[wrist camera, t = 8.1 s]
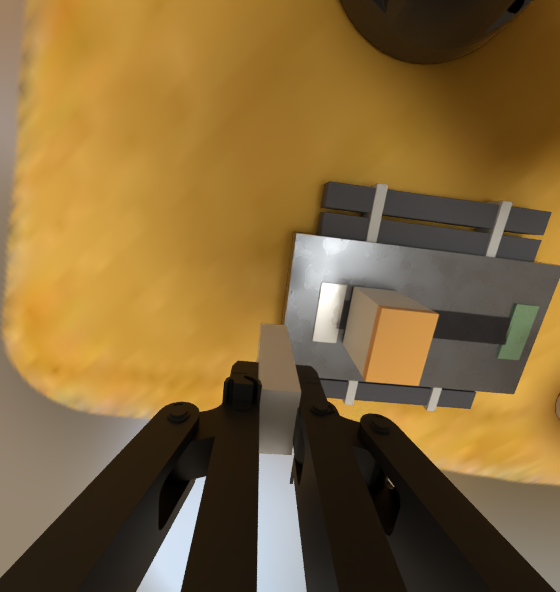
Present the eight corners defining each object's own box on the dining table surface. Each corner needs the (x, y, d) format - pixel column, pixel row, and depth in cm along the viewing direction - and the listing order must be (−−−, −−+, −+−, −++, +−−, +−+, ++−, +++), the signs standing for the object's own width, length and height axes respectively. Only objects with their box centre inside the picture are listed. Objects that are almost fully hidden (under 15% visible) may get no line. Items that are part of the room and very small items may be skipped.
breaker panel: (293, 231, 23) (296, 233, 21) (535, 261, 25) (566, 266, 22) (276, 360, 27) (277, 375, 24) (492, 379, 28) (515, 395, 26)
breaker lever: (354, 286, 22) (382, 308, 17) (397, 291, 22) (439, 314, 17) (342, 343, 23) (365, 381, 18) (384, 347, 24) (418, 386, 18)
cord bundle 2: (307, 364, 27) (310, 376, 25) (464, 378, 28) (478, 390, 26) (303, 388, 27) (306, 401, 26) (456, 400, 29) (470, 413, 27)
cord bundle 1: (325, 180, 22) (330, 176, 20) (532, 208, 24) (555, 208, 22) (316, 238, 24) (320, 240, 22) (513, 262, 25) (534, 265, 23)
